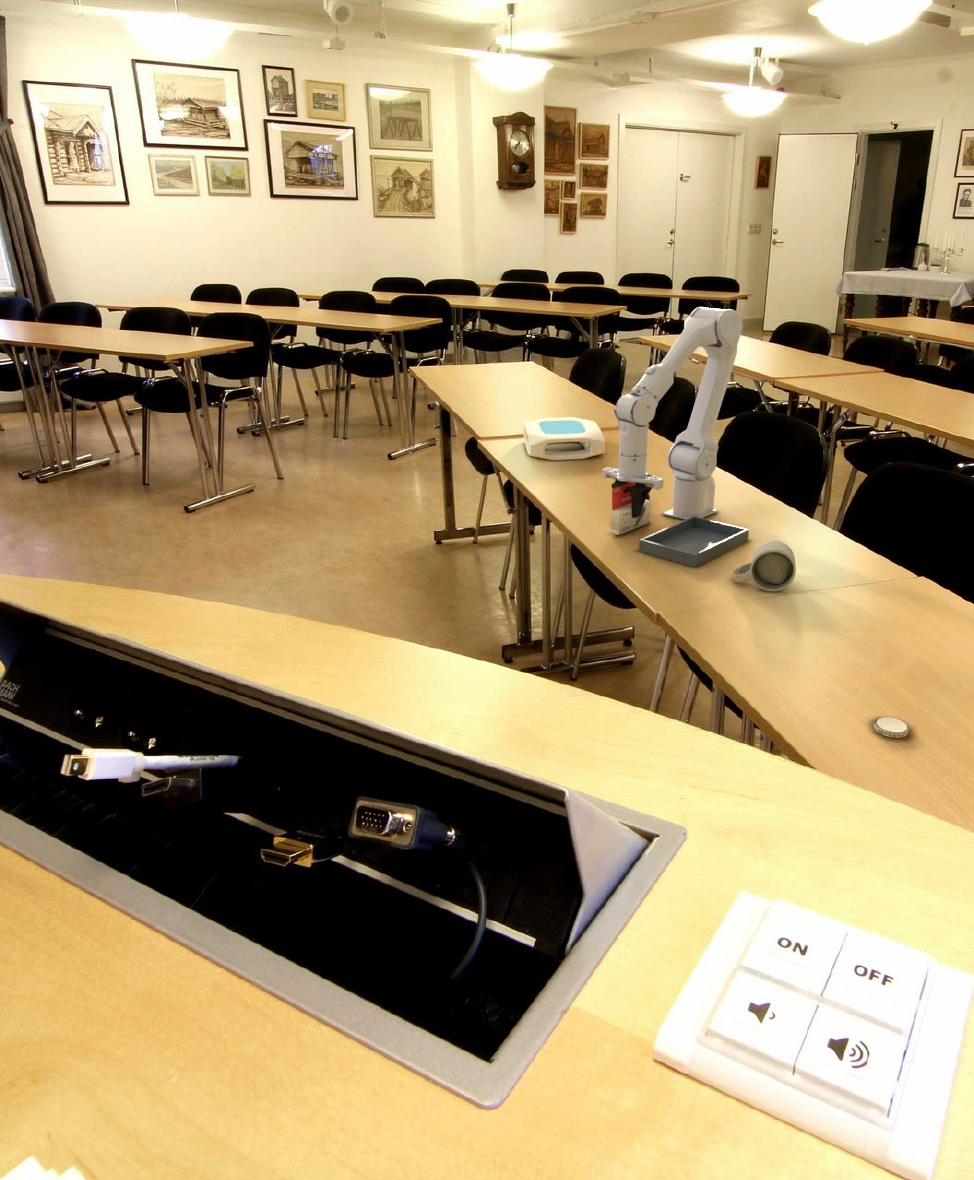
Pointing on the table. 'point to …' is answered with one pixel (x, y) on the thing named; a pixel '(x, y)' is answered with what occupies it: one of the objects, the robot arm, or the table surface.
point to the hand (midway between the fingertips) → (630, 515)
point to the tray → (693, 541)
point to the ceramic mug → (769, 567)
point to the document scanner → (563, 437)
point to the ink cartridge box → (626, 511)
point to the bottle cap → (891, 727)
